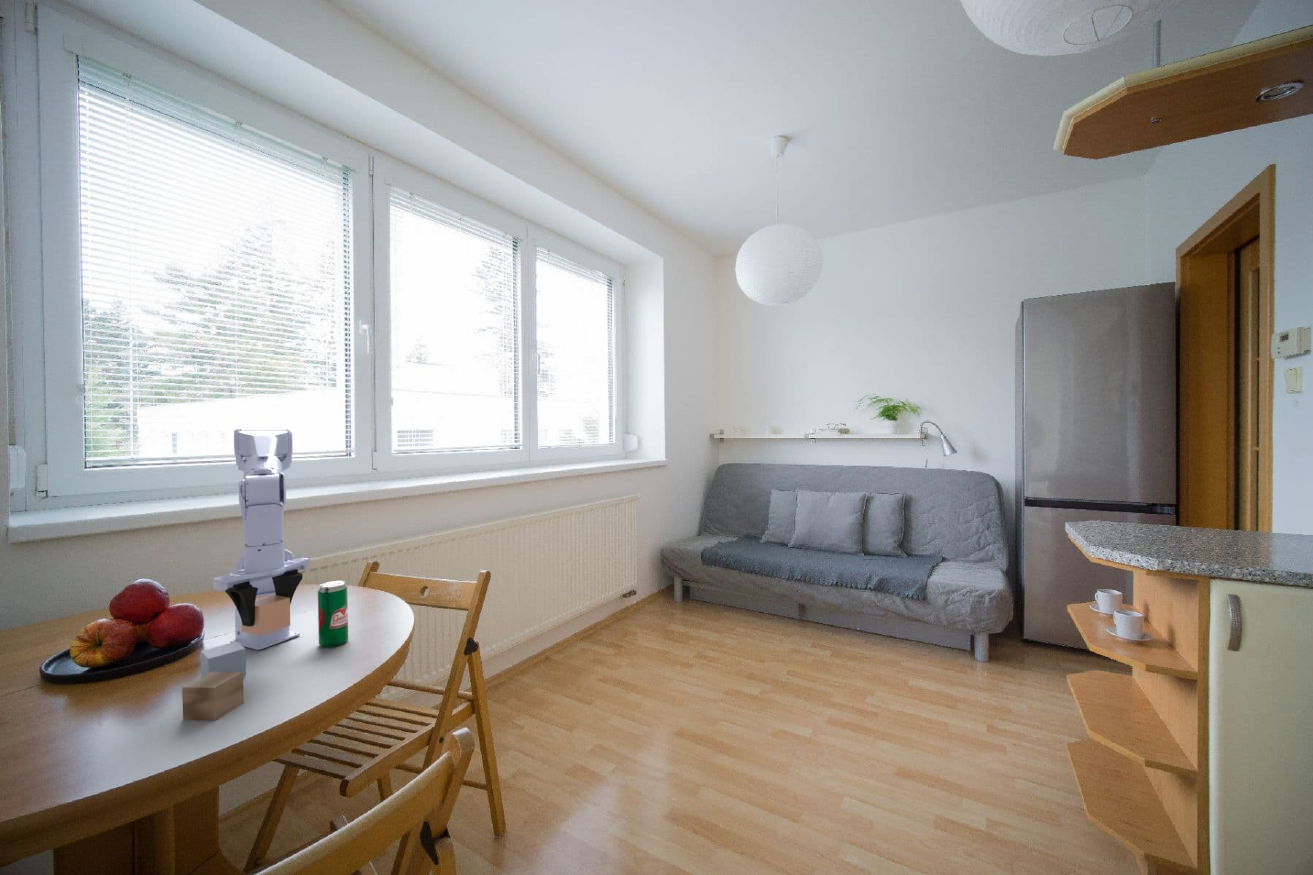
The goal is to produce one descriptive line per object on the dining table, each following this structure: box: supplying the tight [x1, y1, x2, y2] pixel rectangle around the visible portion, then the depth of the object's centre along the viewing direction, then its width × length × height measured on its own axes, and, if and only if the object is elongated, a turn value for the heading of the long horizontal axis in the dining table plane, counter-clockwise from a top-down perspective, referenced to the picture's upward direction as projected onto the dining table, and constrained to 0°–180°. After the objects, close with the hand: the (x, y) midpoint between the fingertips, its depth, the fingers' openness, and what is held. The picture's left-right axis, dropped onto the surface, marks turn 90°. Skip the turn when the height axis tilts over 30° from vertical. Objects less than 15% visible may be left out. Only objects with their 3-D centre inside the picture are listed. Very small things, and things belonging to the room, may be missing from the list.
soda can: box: [317, 580, 349, 648], centre depth 104 cm, size 5×5×12 cm
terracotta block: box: [242, 595, 291, 636], centre depth 91 cm, size 5×5×5 cm
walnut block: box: [181, 672, 245, 722], centre depth 79 cm, size 5×5×5 cm
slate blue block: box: [200, 642, 247, 678], centre depth 90 cm, size 5×5×5 cm
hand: (265, 619), depth 91 cm, fingers closed on terracotta block, 5 cm apart
